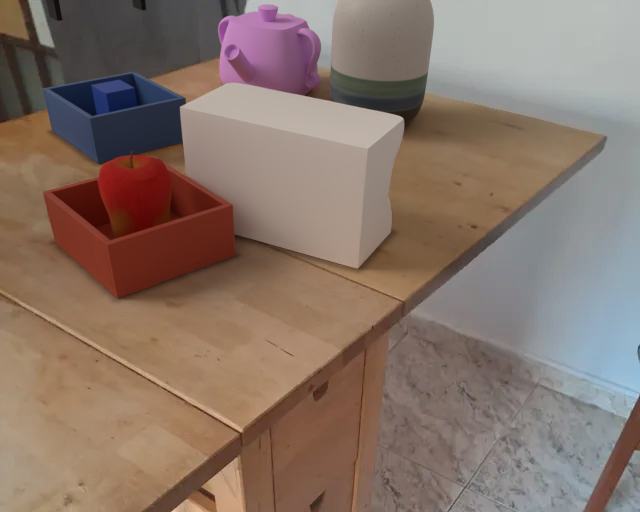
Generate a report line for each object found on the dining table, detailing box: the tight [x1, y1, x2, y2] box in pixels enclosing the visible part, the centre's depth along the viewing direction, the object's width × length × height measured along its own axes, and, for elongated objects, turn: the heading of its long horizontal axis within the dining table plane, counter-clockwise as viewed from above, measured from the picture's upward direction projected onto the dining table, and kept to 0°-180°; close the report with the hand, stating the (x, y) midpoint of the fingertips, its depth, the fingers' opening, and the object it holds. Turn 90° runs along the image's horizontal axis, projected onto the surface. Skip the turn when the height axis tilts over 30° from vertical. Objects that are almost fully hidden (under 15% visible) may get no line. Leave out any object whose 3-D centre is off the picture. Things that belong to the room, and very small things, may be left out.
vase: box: [329, 0, 435, 126], centre depth 117 cm, size 17×17×24 cm
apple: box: [97, 150, 172, 239], centre depth 83 cm, size 9×8×12 cm
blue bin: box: [42, 71, 187, 164], centre depth 113 cm, size 17×17×7 cm
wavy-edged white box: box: [180, 83, 405, 270], centre depth 91 cm, size 25×18×15 cm
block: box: [92, 80, 137, 115], centre depth 112 cm, size 5×5×7 cm
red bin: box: [42, 162, 237, 299], centre depth 85 cm, size 17×17×7 cm
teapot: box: [217, 3, 322, 96], centre depth 130 cm, size 19×21×14 cm
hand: (99, 13), depth 103 cm, fingers open, 13 cm apart
